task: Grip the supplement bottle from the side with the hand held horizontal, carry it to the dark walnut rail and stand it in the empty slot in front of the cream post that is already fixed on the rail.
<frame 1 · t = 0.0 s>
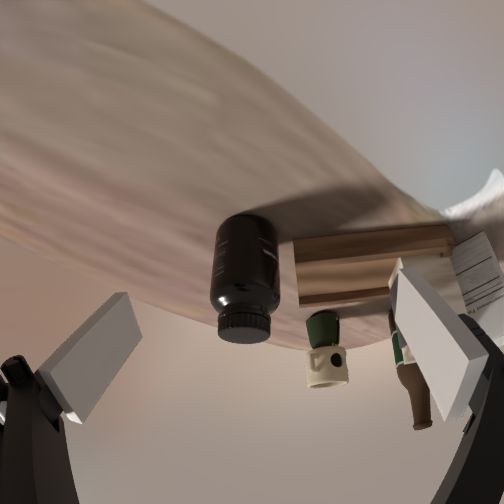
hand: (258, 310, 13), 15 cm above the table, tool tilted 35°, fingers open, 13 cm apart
supplement bottle: (246, 231, 33), on the table
supplement box: (465, 253, 37), on the table
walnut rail: (369, 259, 37), on the table
character mug: (322, 315, 53), on the table
beer bottle: (404, 308, 52), on the table
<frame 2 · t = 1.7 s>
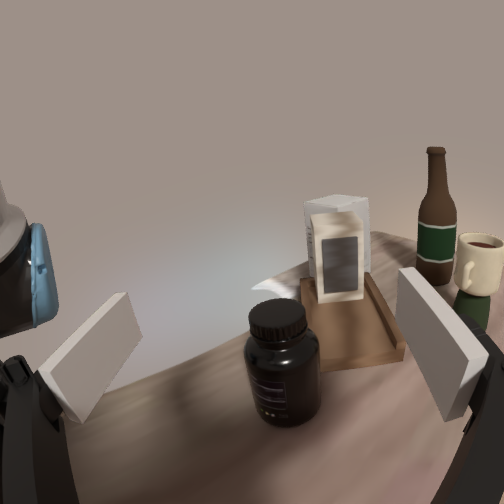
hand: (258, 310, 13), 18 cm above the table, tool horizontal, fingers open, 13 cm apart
supplement bottle: (288, 406, 28), on the table
supplement box: (340, 275, 56), on the table
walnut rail: (344, 323, 41), on the table
character mug: (466, 328, 33), on the table
beer bottle: (433, 278, 48), on the table
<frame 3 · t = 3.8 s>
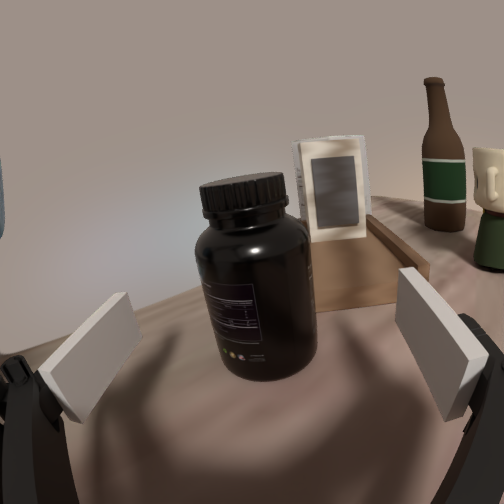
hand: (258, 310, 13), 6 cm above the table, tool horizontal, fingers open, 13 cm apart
supplement bottle: (269, 355, 20), on the table
supplement box: (337, 227, 49), on the table
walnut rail: (344, 263, 33), on the table
character mug: (495, 267, 25), on the table
beer bottle: (445, 227, 41), on the table
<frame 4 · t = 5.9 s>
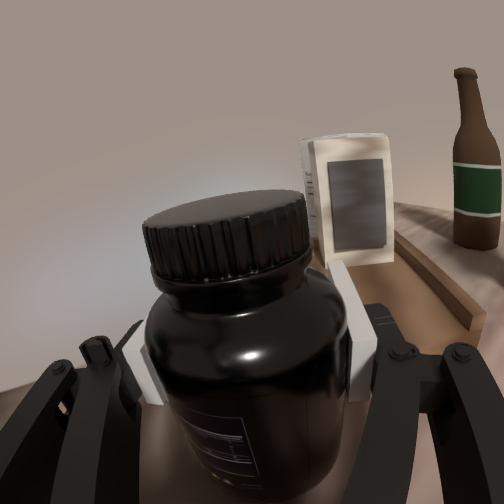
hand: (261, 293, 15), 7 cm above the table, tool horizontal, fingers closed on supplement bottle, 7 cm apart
supplement bottle: (270, 452, 12), on the table, touching gripper
supplement box: (352, 242, 41), on the table
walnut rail: (367, 298, 25), on the table
beer bottle: (475, 243, 33), on the table
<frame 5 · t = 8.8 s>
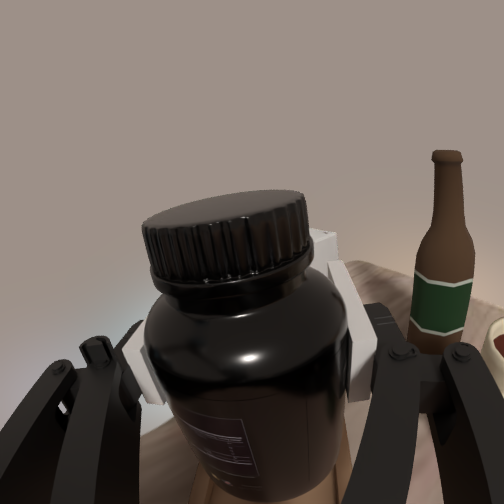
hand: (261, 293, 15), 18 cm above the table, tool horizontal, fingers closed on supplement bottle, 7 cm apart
supplement bottle: (270, 453, 12), point 11 cm above the table, touching gripper
supplement box: (296, 341, 40), on the table
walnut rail: (278, 441, 24), on the table
character mug: (471, 453, 16), on the table
beer bottle: (432, 348, 31), on the table
when the fingers open (10 cm above the table, at t = 11.5 s): supplement bottle drops 1 cm, resting on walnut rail.
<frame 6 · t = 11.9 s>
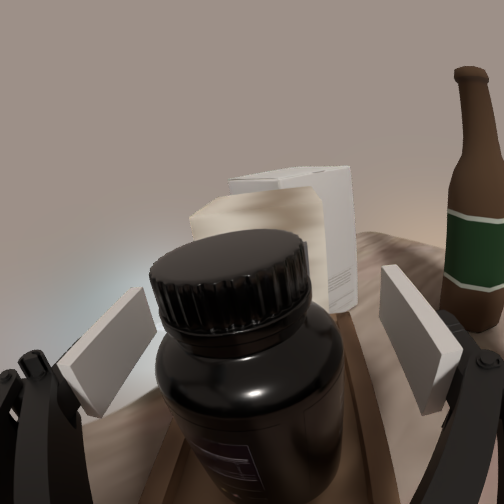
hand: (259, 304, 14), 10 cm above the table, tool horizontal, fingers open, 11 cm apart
supplement bottle: (275, 465, 13), point 2 cm above the table, touching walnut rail
supplement box: (302, 309, 32), on the table
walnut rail: (278, 435, 17), on the table
beer bottle: (469, 315, 24), on the table
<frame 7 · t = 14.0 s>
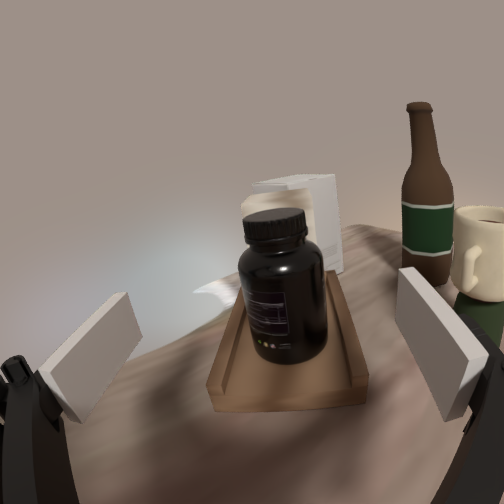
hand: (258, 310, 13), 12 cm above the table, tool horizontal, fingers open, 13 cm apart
supplement bottle: (290, 346, 26), point 2 cm above the table, touching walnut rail
supplement box: (304, 275, 46), on the table
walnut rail: (291, 339, 30), on the table
character mug: (470, 348, 22), on the table
beer bottle: (426, 277, 37), on the table
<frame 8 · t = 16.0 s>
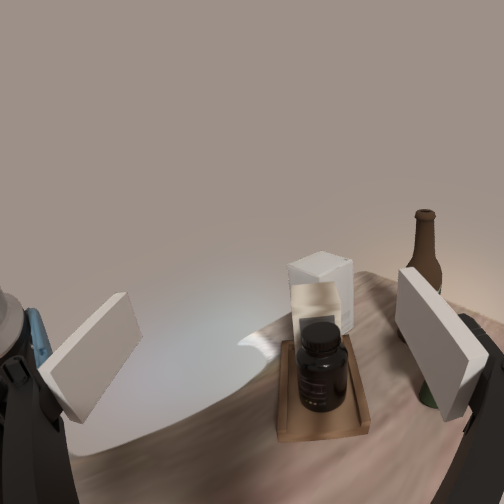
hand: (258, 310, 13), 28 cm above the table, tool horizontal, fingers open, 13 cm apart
supplement bottle: (322, 398, 38), point 2 cm above the table, touching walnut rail
supplement box: (323, 330, 58), on the table
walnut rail: (319, 389, 42), on the table
beer bottle: (415, 335, 49), on the table
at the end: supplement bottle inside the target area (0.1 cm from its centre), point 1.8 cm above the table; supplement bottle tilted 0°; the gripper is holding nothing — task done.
